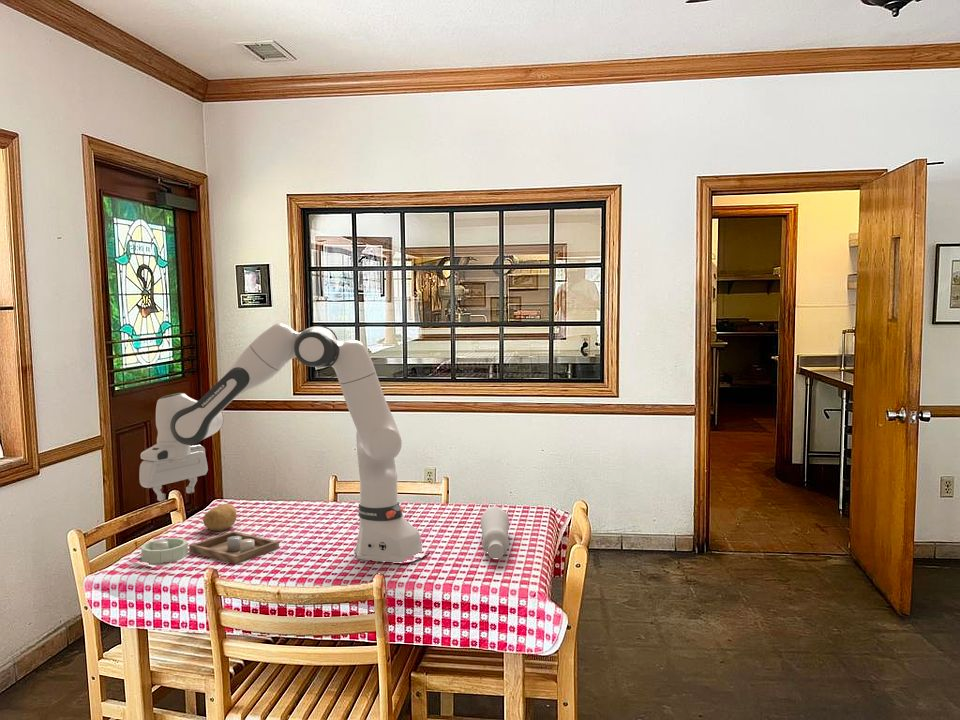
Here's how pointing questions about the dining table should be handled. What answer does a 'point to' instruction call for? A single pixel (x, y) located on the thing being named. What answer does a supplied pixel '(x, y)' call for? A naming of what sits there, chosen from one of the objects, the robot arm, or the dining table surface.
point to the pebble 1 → (160, 545)
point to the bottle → (495, 531)
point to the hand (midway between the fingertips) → (176, 496)
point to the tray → (219, 551)
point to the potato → (220, 517)
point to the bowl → (164, 551)
